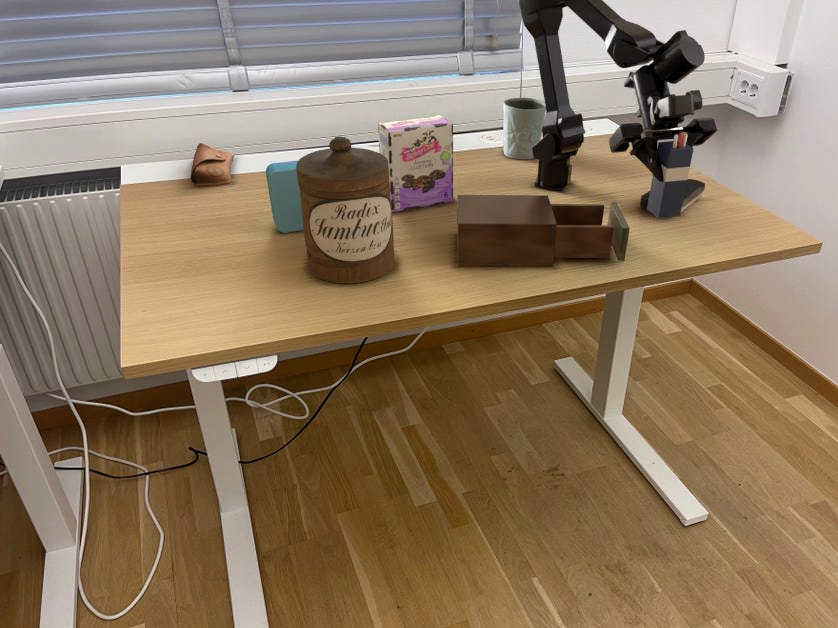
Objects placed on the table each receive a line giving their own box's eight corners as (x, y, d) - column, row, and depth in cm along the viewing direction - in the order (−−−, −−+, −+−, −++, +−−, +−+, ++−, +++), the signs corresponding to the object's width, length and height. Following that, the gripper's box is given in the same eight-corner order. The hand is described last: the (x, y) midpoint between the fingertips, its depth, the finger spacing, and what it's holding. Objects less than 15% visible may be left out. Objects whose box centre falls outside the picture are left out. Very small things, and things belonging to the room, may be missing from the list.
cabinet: (544, 235, 133) (548, 195, 128) (552, 267, 123) (556, 224, 118) (457, 235, 132) (457, 194, 128) (458, 266, 122) (458, 223, 117)
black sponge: (673, 222, 139) (677, 205, 137) (635, 211, 143) (638, 194, 141) (705, 198, 150) (708, 181, 148) (668, 188, 154) (671, 172, 152)
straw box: (646, 208, 130) (660, 128, 121) (668, 206, 131) (683, 126, 122) (658, 218, 126) (673, 136, 118) (680, 215, 127) (696, 134, 119)
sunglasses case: (233, 181, 150) (211, 156, 146) (207, 199, 151) (184, 175, 147) (235, 153, 164) (214, 130, 160) (211, 170, 165) (190, 147, 161)
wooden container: (319, 291, 114) (302, 158, 101) (300, 252, 125) (283, 128, 112) (406, 275, 119) (400, 147, 106) (380, 239, 130) (372, 119, 117)
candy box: (391, 213, 140) (387, 130, 130) (381, 203, 144) (376, 122, 134) (454, 202, 145) (454, 122, 136) (442, 192, 149) (441, 113, 140)
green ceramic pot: (503, 145, 175) (505, 96, 168) (544, 148, 174) (548, 98, 167) (499, 159, 167) (501, 107, 160) (541, 162, 166) (545, 110, 159)
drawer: (618, 233, 132) (623, 201, 129) (631, 261, 123) (636, 228, 120) (530, 232, 132) (532, 201, 128) (536, 260, 122) (539, 227, 119)
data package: (336, 216, 138) (329, 156, 131) (341, 225, 135) (334, 164, 128) (273, 224, 134) (264, 163, 127) (277, 234, 131) (267, 172, 124)
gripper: (625, 75, 116) (647, 163, 113) (724, 69, 120) (746, 154, 118) (599, 110, 126) (618, 191, 124) (690, 104, 131) (710, 182, 129)
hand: (673, 179), depth 123 cm, fingers closed on straw box, 4 cm apart
